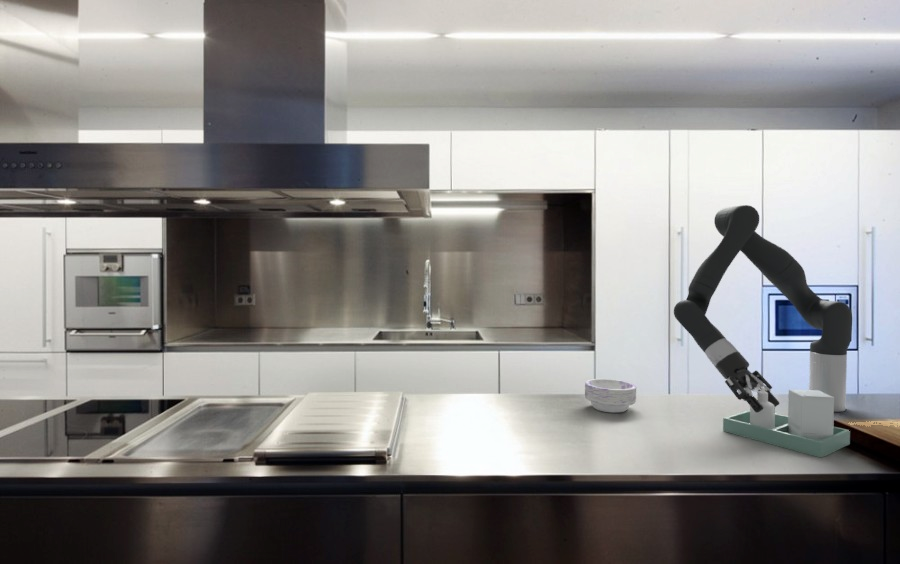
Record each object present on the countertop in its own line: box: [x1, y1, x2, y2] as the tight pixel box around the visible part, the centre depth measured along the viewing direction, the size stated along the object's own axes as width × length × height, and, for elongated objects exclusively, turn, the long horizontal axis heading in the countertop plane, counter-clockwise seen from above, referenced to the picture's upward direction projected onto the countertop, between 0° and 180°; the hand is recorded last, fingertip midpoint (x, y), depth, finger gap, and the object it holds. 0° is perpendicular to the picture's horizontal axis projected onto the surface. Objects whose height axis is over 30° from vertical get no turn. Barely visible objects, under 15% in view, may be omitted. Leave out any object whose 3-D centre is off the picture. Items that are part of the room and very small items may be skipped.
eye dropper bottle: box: [749, 387, 776, 429], centre depth 138 cm, size 4×6×12 cm
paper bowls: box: [584, 378, 637, 414], centre depth 161 cm, size 15×15×8 cm
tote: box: [722, 409, 851, 458], centre depth 134 cm, size 16×23×4 cm
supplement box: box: [787, 389, 835, 441], centre depth 129 cm, size 7×7×13 cm
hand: (768, 408), depth 137 cm, fingers open, 8 cm apart
